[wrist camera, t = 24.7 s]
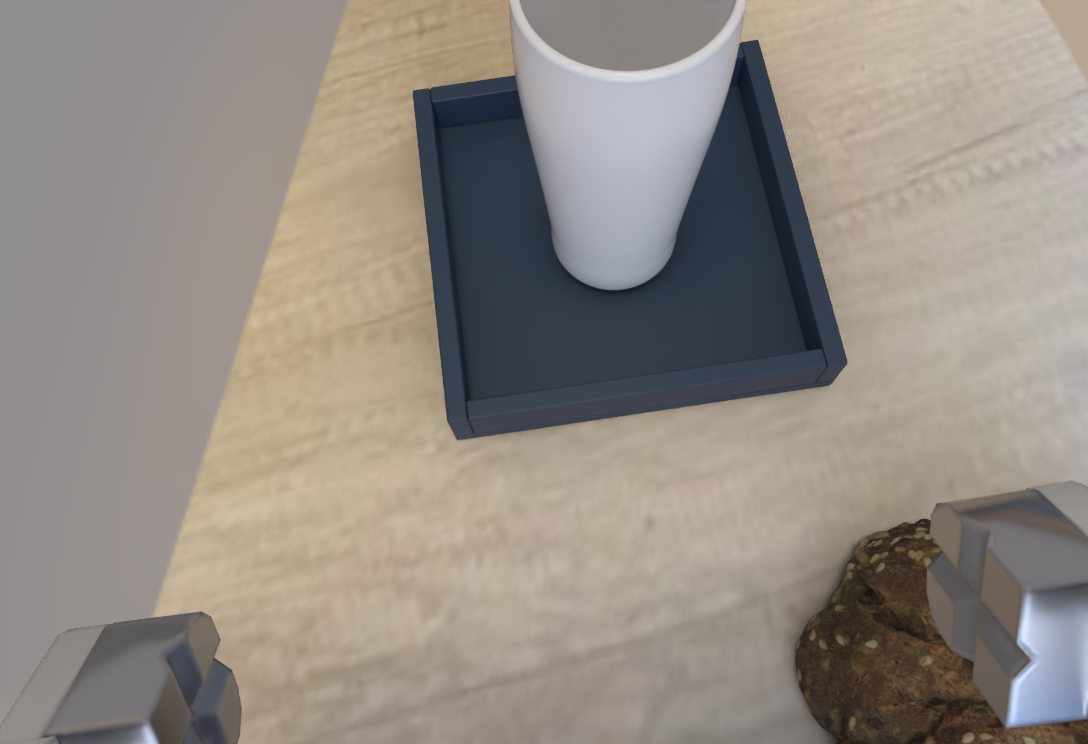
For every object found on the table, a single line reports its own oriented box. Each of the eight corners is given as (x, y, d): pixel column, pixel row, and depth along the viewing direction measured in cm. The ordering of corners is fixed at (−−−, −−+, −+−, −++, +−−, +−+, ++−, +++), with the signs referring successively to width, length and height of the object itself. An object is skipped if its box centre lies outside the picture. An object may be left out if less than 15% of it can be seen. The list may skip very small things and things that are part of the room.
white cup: (586, 149, 40) (585, -146, 26) (719, 215, 38) (795, -59, 24) (506, 264, 38) (457, 16, 24) (642, 339, 36) (675, 121, 22)
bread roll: (1196, 613, 32) (1299, 601, 28) (1106, 959, 29) (1207, 1012, 24) (864, 464, 35) (907, 430, 30) (744, 767, 31) (772, 781, 27)
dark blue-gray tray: (456, 440, 36) (447, 422, 33) (422, 125, 41) (412, 89, 39) (830, 385, 36) (848, 363, 34) (748, 77, 41) (758, 39, 39)
